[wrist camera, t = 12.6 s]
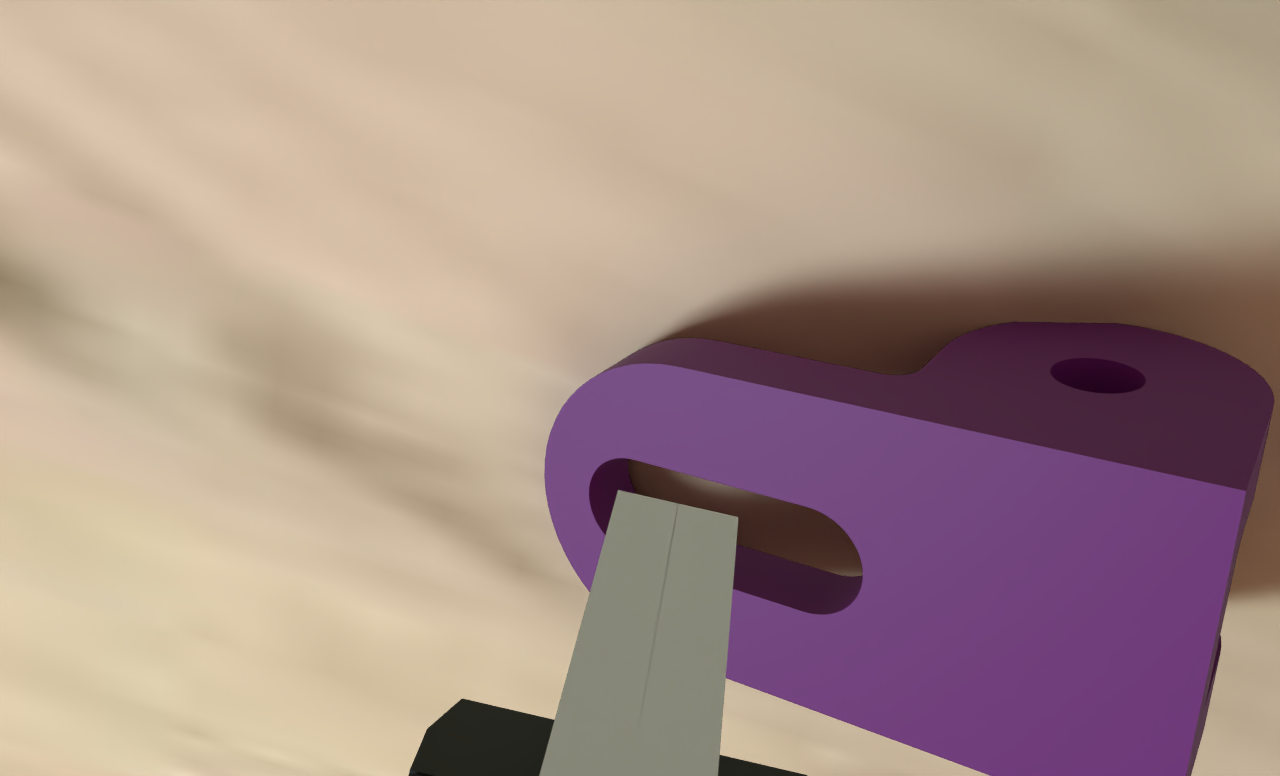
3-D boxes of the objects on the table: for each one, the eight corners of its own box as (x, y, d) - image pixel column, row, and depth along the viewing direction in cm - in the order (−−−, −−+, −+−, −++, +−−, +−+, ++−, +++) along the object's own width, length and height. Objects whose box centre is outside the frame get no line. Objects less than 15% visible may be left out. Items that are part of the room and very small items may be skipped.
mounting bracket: (690, 498, 42) (1225, 652, 33) (554, 614, 36) (1171, 844, 27) (687, 252, 39) (1292, 351, 29) (534, 333, 32) (1248, 492, 23)
